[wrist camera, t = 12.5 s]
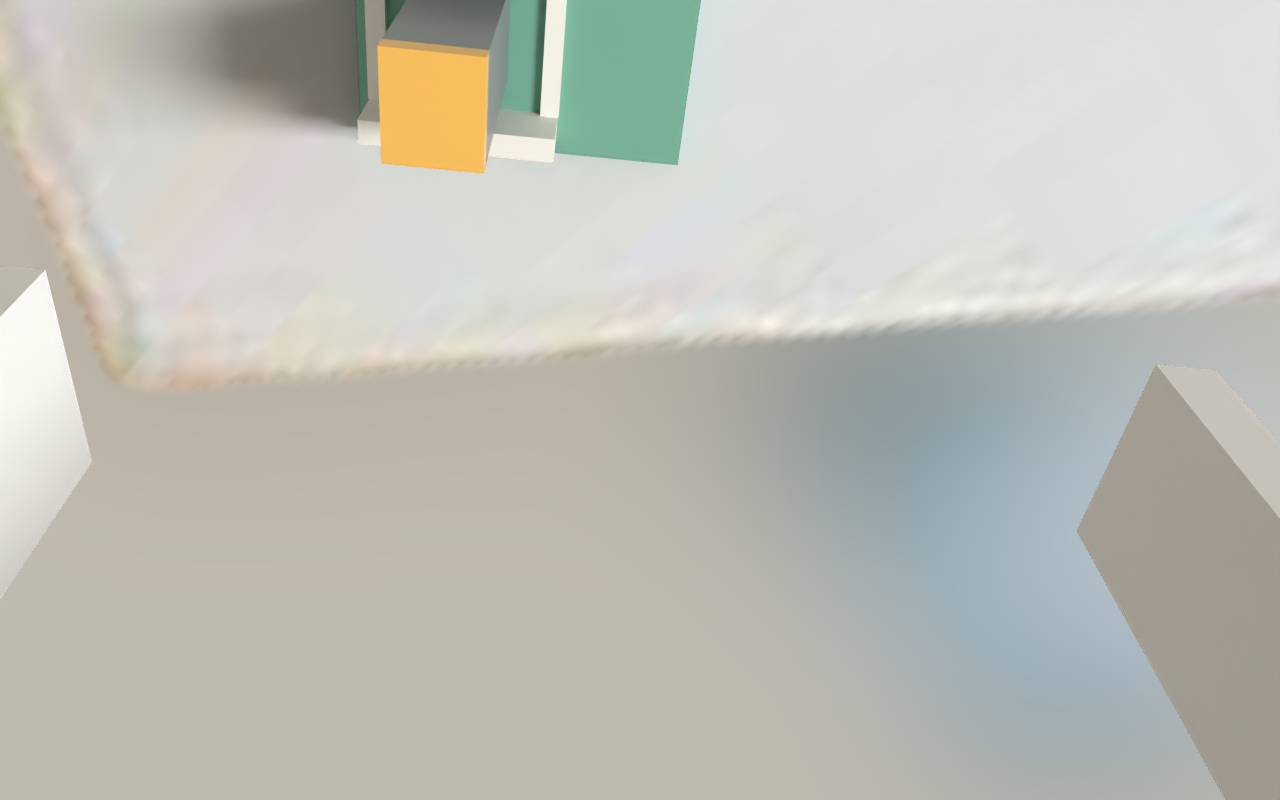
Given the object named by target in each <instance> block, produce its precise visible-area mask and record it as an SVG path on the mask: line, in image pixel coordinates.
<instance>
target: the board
mask: <svg viewBox="0 0 1280 800" xmlns="http://www.w3.org/2000/svg"><path fill="white" fill-rule="evenodd" d="M405 2H406V0H355V7H356V30H357V53H358V77H359V100H360V116H359V118H358V119H357V130H358V144H366V145H376V146H381V143H380V112H379V81H378V49H377V46H378V44H379V42H380V41H381V39H382V38H383V36H384V35H385V33H386V32H387V30H388V28H389V27H390V25H391V24H392V22H393V21H394V19H395V17H396V16H397V14H398V13H399V11H400V10H401V8H402V6H403V5H404V3H405ZM700 2H701V0H510V18H509V43H508V68H507V84H506V87H505V91H504V95H503V99H502V103H501V107H500V111H499V115H498V119H497V123H496V127H495V131H494V135H493V139H492V142H491V146H490V150H489V154H488V156H489V157H499V158H509V159H520V160H530V161H540V162H550V163H553V161H554V153H561V154H571V155H581V156H591V157H601V158H611V159H622V160H632V161H642V162H652V163H662V164H672V165H678V158H679V151H680V144H681V137H682V129H683V122H684V115H685V108H686V101H687V94H688V87H689V80H690V73H691V66H692V59H693V52H694V44H695V37H696V30H697V23H698V16H699V9H700Z"/></svg>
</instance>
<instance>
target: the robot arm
mask: <svg viewBox="0 0 1280 800" xmlns="http://www.w3.org/2000/svg"><path fill="white" fill-rule="evenodd" d="M91 463H92V460H91V456H90V451H89V447H88V443H87V439H86V435H85V431H84V427H83V423H82V418H81V414H80V410H79V407H78V403H77V398H76V394H75V390H74V386H73V381H72V377H71V373H70V369H69V365H68V361H67V357H66V353H65V349H64V344H63V341H62V336H61V333H60V328H59V324H58V320H57V316H56V312H55V307H54V304H53V299H52V295H51V291H50V287H49V283H48V279H47V275H46V270H42V269H30V268H17V267H6V266H0V600H1V598H2V597H3V595H4V594H5V592H6V591H7V589H8V588H9V586H10V584H11V583H12V582H13V580H14V579H15V577H16V575H17V574H18V573H19V571H20V570H21V568H22V567H23V565H24V564H25V562H26V561H27V559H28V557H29V556H30V554H31V553H32V552H33V550H34V548H35V547H36V545H37V544H38V542H39V541H40V539H41V538H42V536H43V535H44V533H45V532H46V530H47V529H48V527H49V526H50V524H51V523H52V521H53V520H54V518H55V517H56V515H57V514H58V512H59V511H60V509H61V507H62V506H63V505H64V503H65V502H66V500H67V499H68V497H69V496H70V494H71V493H72V491H73V490H74V488H75V487H76V485H77V484H78V482H79V480H80V479H81V478H82V476H83V475H84V473H85V472H86V470H87V469H88V467H89V466H90V464H91ZM1077 532H1078V534H1079V536H1080V538H1081V539H1082V541H1083V543H1084V545H1085V547H1086V549H1087V550H1088V552H1089V554H1090V556H1091V558H1092V559H1093V561H1094V563H1095V565H1096V566H1097V568H1098V570H1099V572H1100V574H1101V576H1102V578H1103V579H1104V581H1105V583H1106V585H1107V586H1108V588H1109V590H1110V592H1111V594H1112V595H1113V597H1114V599H1115V601H1116V603H1117V605H1118V607H1119V608H1120V610H1121V612H1122V614H1123V616H1124V617H1125V619H1126V621H1127V623H1128V624H1129V626H1130V628H1131V630H1132V632H1133V634H1134V635H1135V637H1136V639H1137V641H1138V643H1139V644H1140V646H1141V648H1142V650H1143V652H1144V654H1145V655H1146V657H1147V659H1148V661H1149V663H1150V664H1151V666H1152V668H1153V670H1154V671H1155V673H1156V675H1157V677H1158V679H1159V681H1160V682H1161V684H1162V686H1163V688H1164V690H1165V691H1166V693H1167V695H1168V697H1169V699H1170V700H1171V702H1172V704H1173V706H1174V708H1175V710H1176V711H1177V713H1178V715H1179V717H1180V719H1181V720H1182V722H1183V724H1184V726H1185V728H1186V729H1187V731H1188V733H1189V735H1190V737H1191V739H1192V740H1193V742H1194V744H1195V746H1196V747H1197V749H1198V751H1199V753H1200V755H1201V757H1202V758H1203V760H1204V762H1205V764H1206V766H1207V767H1208V769H1209V771H1210V773H1211V775H1212V777H1213V778H1214V780H1215V782H1216V783H1217V786H1218V787H1219V789H1220V791H1221V793H1222V794H1223V796H1224V798H1225V800H1280V443H1279V442H1278V441H1277V439H1276V438H1275V437H1274V436H1273V435H1272V434H1271V433H1270V432H1269V431H1268V429H1267V428H1266V427H1265V426H1264V425H1263V424H1262V422H1261V421H1260V420H1259V419H1258V418H1257V417H1256V416H1255V415H1254V413H1253V412H1252V411H1251V410H1250V409H1249V408H1248V407H1247V405H1246V404H1245V403H1244V402H1243V401H1242V400H1241V399H1240V398H1239V396H1238V395H1237V394H1236V393H1235V392H1234V391H1233V390H1232V389H1231V387H1229V385H1228V384H1227V383H1226V382H1225V381H1224V379H1223V378H1222V377H1221V376H1220V375H1219V374H1218V373H1217V372H1216V370H1214V369H1203V368H1191V367H1190V368H1189V367H1179V366H1167V365H1156V366H1155V368H1154V370H1153V372H1152V374H1151V376H1150V378H1149V380H1148V382H1147V385H1146V386H1145V389H1144V391H1143V393H1142V395H1141V397H1140V399H1139V401H1138V403H1137V406H1136V408H1135V410H1134V412H1133V414H1132V416H1131V418H1130V420H1129V422H1128V424H1127V427H1126V428H1125V431H1124V433H1123V435H1122V437H1121V439H1120V441H1119V444H1118V445H1117V447H1116V450H1115V452H1114V454H1113V456H1112V458H1111V460H1110V462H1109V464H1108V466H1107V469H1106V470H1105V473H1104V475H1103V477H1102V479H1101V481H1100V483H1099V485H1098V487H1097V490H1096V492H1095V494H1094V496H1093V498H1092V500H1091V502H1090V505H1089V507H1088V508H1087V510H1086V512H1085V515H1084V517H1083V519H1082V521H1081V523H1080V525H1079V527H1078V529H1077Z"/></svg>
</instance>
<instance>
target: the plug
mask: <svg viewBox="0 0 1280 800" xmlns="http://www.w3.org/2000/svg"><path fill="white" fill-rule="evenodd" d="M509 18H510V0H406V2H405V3H404V5H403V6H402V8H401V10H400V11H399V13H398V14H397V16H396V17H395V19H394V21H393V22H392V24H391V25H390V27H389V28H388V30H387V32H386V33H385V35H384V36H383V38H382V39H381V41H380V42H379V44H378V46H377V49H378V81H379V112H380V143H381V164H391V165H401V166H412V167H422V168H432V169H443V170H453V171H464V172H474V173H484V170H485V166H486V162H487V158H488V154H489V150H490V146H491V142H492V139H493V135H494V131H495V127H496V123H497V119H498V115H499V111H500V107H501V103H502V99H503V95H504V91H505V87H506V84H507V68H508V43H509Z"/></svg>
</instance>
